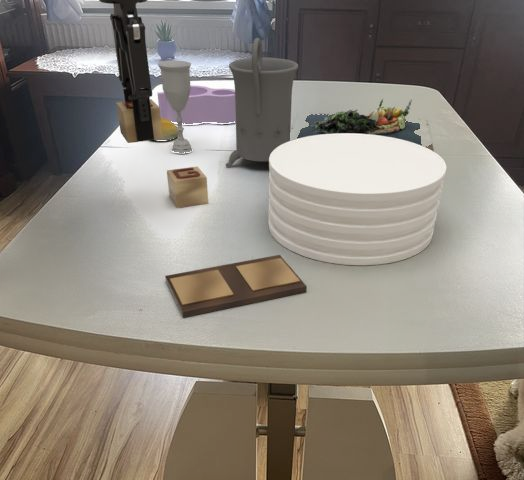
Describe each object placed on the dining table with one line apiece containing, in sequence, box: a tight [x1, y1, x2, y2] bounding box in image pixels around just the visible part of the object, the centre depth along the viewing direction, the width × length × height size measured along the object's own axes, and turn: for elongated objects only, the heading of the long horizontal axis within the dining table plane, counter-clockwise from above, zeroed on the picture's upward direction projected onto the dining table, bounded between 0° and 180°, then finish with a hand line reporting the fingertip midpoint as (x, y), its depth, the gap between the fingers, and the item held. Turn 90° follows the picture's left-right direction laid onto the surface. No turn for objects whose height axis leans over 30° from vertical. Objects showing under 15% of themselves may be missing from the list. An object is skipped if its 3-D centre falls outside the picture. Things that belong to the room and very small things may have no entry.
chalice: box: [157, 60, 193, 153], centre depth 120 cm, size 7×7×18 cm
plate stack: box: [268, 133, 447, 266], centre depth 91 cm, size 28×28×12 cm
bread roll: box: [157, 118, 179, 141], centre depth 133 cm, size 8×9×4 cm
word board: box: [164, 254, 308, 319], centre depth 78 cm, size 18×10×1 cm, turn 111°
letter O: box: [115, 98, 163, 144], centre depth 92 cm, size 6×6×5 cm
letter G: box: [166, 166, 209, 209], centre depth 102 cm, size 6×6×5 cm
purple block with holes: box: [157, 84, 236, 124], centre depth 144 cm, size 20×12×7 cm, turn 81°
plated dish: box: [297, 99, 435, 152], centre depth 136 cm, size 35×28×7 cm
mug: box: [225, 37, 299, 168], centre depth 111 cm, size 19×15×25 cm
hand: (141, 134), depth 93 cm, fingers closed on letter O, 6 cm apart
